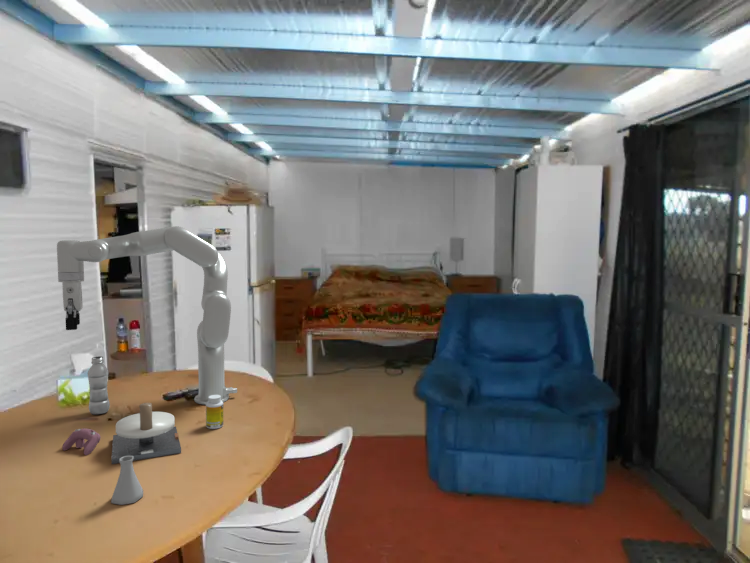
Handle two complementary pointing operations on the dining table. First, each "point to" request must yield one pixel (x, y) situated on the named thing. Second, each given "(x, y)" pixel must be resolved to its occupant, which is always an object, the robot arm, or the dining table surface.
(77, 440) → the video game controller
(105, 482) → the dining table surface
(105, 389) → the plastic bottle
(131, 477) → the flask
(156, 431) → the white piece
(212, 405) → the supplement bottle
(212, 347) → the robot arm
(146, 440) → the mount
